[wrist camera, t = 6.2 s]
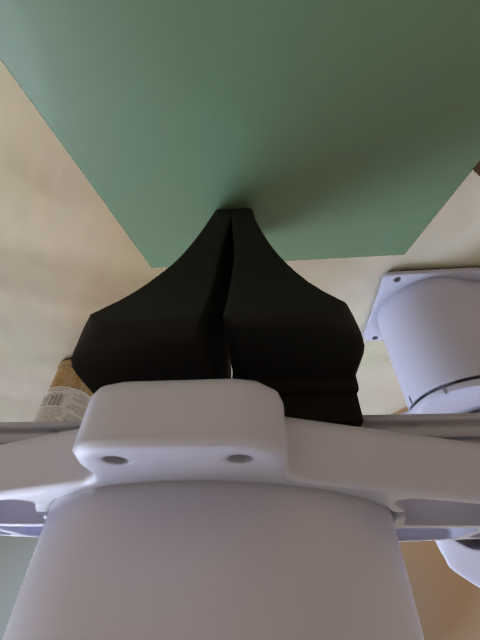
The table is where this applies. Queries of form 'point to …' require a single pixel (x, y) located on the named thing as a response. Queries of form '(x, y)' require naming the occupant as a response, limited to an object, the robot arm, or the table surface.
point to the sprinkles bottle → (64, 397)
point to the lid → (258, 113)
